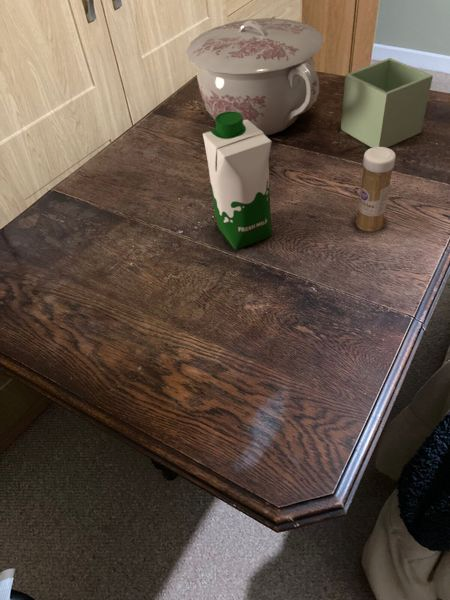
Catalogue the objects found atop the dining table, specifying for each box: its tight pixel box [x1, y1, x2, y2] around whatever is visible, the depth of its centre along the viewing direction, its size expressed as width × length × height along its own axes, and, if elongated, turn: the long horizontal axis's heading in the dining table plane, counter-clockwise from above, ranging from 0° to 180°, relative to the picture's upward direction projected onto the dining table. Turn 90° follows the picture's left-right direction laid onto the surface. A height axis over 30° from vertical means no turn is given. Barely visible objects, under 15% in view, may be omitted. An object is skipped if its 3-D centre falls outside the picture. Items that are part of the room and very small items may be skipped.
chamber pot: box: [185, 17, 324, 137], centre depth 103 cm, size 28×28×21 cm
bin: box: [340, 57, 434, 148], centre depth 98 cm, size 11×11×12 cm
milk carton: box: [202, 112, 273, 251], centre depth 77 cm, size 9×9×20 cm
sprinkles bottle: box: [355, 147, 396, 233], centre depth 78 cm, size 5×5×13 cm
